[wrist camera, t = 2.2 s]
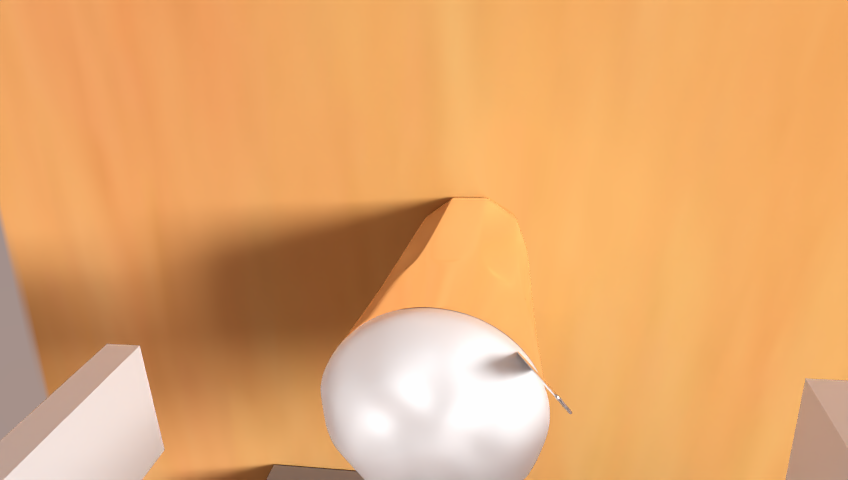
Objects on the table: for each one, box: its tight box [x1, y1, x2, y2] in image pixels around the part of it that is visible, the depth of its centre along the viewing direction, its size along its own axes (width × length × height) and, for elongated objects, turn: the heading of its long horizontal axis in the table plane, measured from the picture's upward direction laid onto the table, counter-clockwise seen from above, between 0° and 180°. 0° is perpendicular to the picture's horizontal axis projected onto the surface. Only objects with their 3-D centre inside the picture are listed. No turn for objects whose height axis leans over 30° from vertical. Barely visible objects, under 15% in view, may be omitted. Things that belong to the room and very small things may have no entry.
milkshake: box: [321, 198, 572, 480], centre depth 16 cm, size 5×5×10 cm
